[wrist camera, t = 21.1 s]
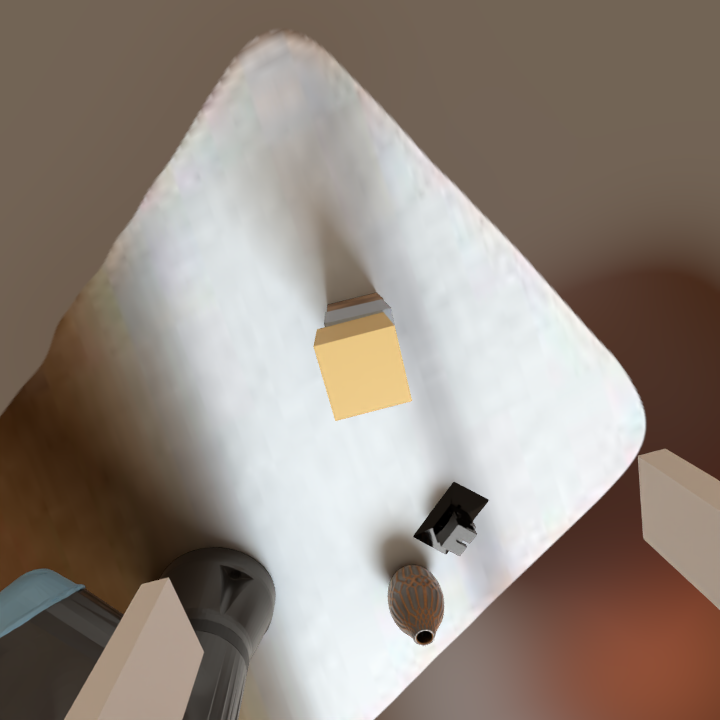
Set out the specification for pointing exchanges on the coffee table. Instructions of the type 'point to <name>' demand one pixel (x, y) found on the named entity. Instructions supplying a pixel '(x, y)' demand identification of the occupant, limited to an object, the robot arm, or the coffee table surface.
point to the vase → (416, 603)
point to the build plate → (452, 520)
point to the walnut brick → (354, 302)
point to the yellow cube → (361, 366)
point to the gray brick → (357, 312)
